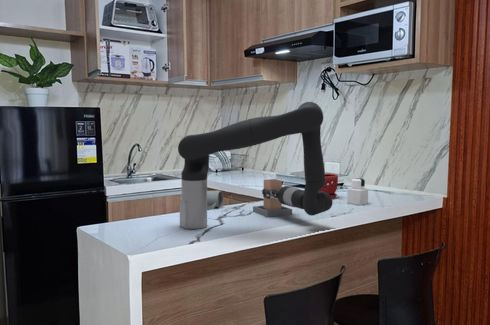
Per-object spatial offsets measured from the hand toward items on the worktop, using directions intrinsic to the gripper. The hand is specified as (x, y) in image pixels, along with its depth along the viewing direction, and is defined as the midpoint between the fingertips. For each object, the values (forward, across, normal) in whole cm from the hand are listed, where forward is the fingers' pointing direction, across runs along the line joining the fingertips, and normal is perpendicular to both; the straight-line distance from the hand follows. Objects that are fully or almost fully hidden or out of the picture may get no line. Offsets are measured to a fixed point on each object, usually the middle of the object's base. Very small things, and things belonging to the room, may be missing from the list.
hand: (269, 191), depth 182 cm
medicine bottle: (-1, -48, +9) cm, 49 cm away
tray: (-2, 0, +9) cm, 9 cm away
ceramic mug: (+19, +18, +9) cm, 28 cm away
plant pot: (+19, -44, +9) cm, 49 cm away
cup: (-2, 0, +7) cm, 7 cm away
